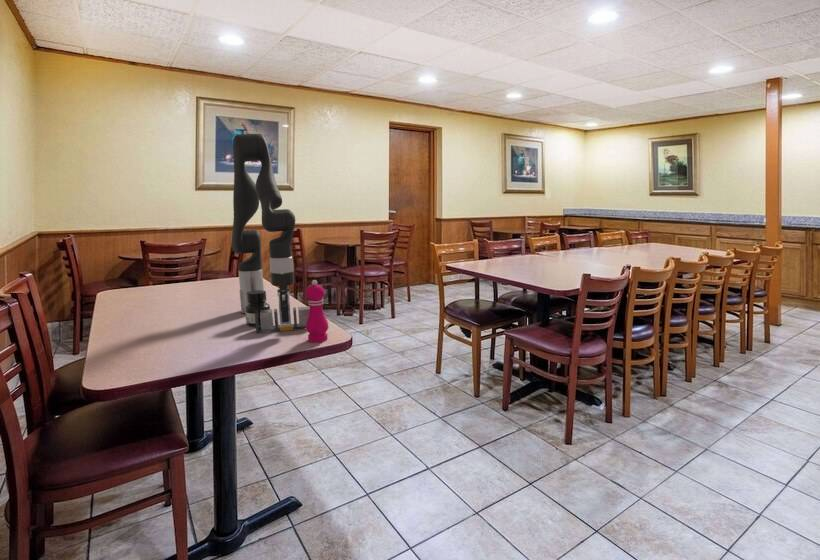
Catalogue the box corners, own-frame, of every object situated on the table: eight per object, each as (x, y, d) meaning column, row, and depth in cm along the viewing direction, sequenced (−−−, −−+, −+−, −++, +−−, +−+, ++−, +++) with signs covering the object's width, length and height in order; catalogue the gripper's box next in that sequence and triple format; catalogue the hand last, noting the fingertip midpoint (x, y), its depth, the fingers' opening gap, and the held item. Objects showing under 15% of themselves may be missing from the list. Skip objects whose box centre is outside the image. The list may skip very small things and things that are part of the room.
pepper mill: (317, 335, 166) (314, 277, 163) (333, 338, 162) (330, 279, 158) (302, 341, 160) (298, 280, 157) (318, 344, 156) (314, 282, 153)
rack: (256, 333, 170) (254, 313, 169) (256, 329, 175) (255, 310, 174) (316, 328, 175) (314, 309, 174) (315, 324, 180) (314, 306, 178)
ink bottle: (245, 321, 186) (242, 290, 184) (269, 318, 189) (266, 288, 187) (247, 328, 177) (245, 295, 175) (272, 325, 181) (270, 293, 178)
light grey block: (280, 324, 163) (278, 304, 162) (280, 320, 168) (278, 301, 167) (291, 323, 164) (289, 303, 163) (290, 319, 169) (289, 300, 167)
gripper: (270, 267, 168) (274, 315, 172) (269, 274, 155) (273, 326, 158) (293, 266, 170) (296, 313, 174) (294, 273, 157) (297, 324, 160)
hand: (285, 319), depth 166 cm, fingers closed on light grey block, 4 cm apart
